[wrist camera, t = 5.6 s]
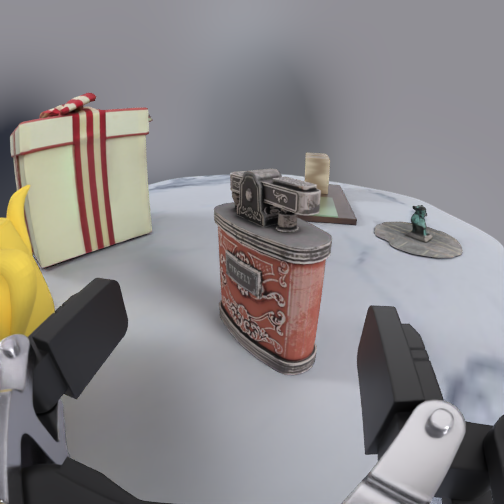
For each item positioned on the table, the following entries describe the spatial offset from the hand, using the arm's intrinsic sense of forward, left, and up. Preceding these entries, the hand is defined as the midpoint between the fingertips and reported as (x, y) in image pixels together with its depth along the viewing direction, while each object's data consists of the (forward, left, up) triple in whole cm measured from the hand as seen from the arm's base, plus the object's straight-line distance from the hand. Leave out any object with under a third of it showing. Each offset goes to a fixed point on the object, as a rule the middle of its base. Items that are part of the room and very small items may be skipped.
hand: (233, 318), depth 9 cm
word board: (+3, +42, -7) cm, 42 cm away
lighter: (0, +8, -7) cm, 10 cm away
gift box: (-25, +23, -7) cm, 34 cm away
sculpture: (+17, +28, -7) cm, 33 cm away
